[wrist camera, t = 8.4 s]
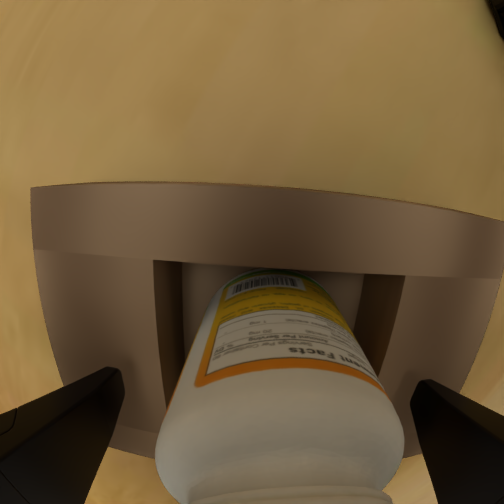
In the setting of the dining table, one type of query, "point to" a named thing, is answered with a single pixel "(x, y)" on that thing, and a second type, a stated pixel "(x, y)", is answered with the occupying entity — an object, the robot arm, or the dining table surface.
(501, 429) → the robot arm
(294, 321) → the supplement bottle
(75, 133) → the dining table surface
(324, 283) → the walnut holder
